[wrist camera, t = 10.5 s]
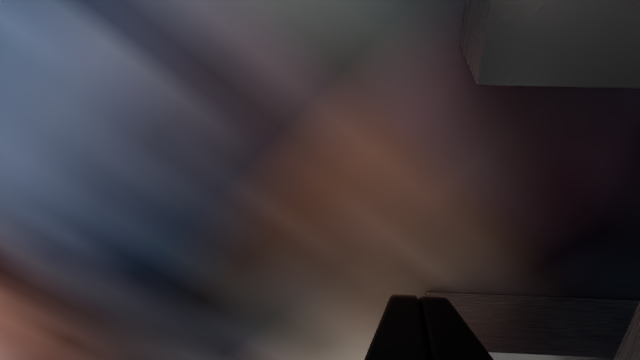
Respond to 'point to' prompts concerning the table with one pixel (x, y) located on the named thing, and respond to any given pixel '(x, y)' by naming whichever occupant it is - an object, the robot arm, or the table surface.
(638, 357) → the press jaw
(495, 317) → the press bed
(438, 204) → the table surface
